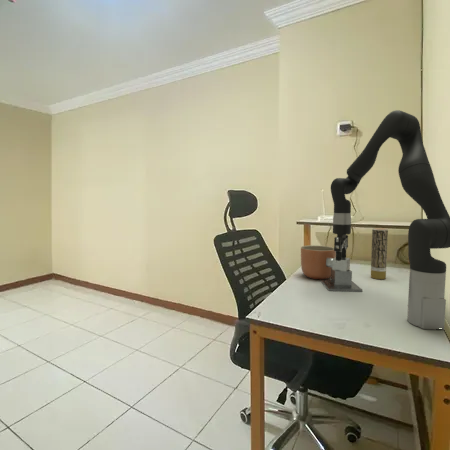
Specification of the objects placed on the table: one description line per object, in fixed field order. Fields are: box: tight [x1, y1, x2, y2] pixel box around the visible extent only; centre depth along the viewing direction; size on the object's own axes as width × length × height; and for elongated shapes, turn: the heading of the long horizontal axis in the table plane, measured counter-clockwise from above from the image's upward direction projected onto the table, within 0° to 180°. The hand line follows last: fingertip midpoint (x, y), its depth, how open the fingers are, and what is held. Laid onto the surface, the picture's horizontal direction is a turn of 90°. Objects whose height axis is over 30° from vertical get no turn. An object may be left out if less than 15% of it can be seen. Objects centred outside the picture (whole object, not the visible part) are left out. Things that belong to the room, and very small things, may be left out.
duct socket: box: [320, 268, 363, 293], centre depth 129 cm, size 14×14×8 cm
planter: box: [300, 244, 336, 280], centre depth 145 cm, size 17×17×15 cm
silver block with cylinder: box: [326, 257, 351, 272], centre depth 130 cm, size 9×6×11 cm, turn 53°
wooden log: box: [370, 227, 389, 280], centre depth 143 cm, size 7×7×25 cm
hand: (341, 259), depth 128 cm, fingers open, 8 cm apart
